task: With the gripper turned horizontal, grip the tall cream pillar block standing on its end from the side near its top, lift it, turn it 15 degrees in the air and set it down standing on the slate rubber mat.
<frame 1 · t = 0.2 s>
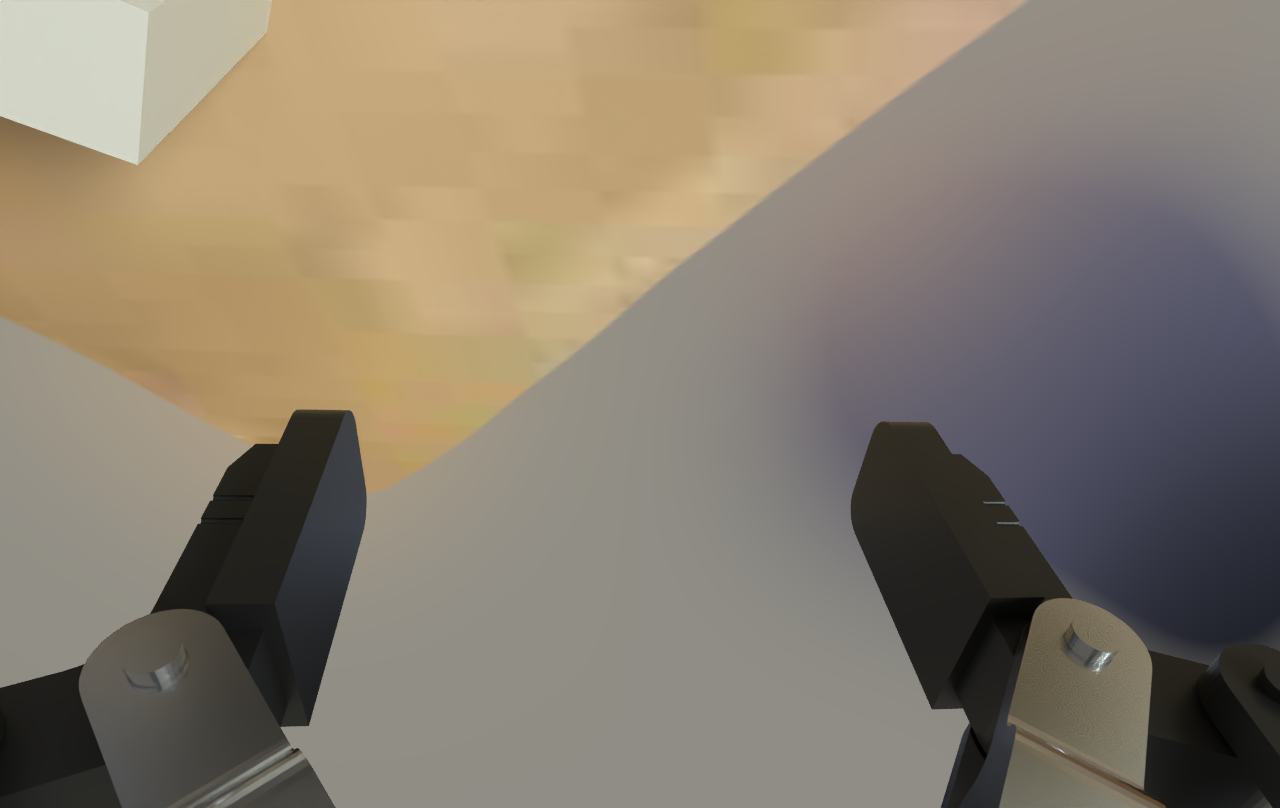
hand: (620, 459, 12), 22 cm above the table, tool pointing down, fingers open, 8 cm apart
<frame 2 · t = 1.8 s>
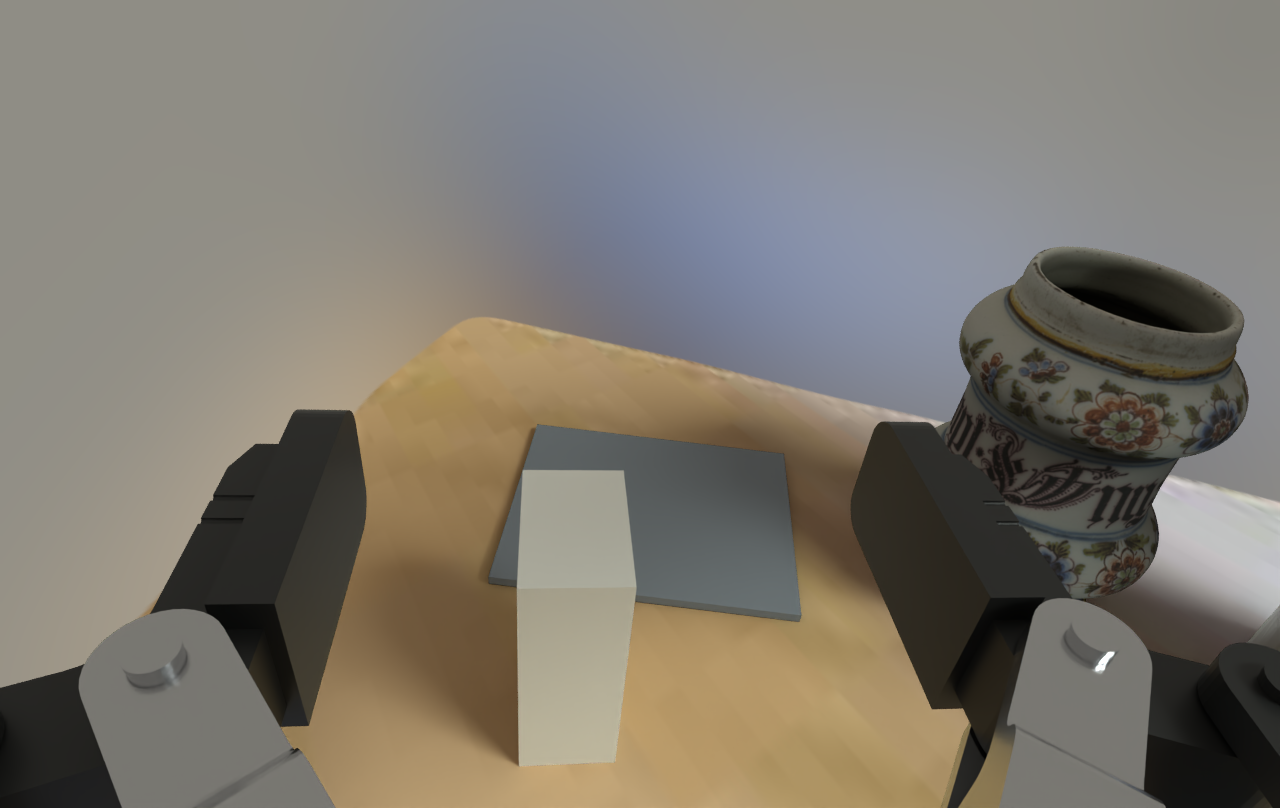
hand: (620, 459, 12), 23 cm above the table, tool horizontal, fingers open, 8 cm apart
apothecary jar: (986, 576, 43), on the table
tall cream pillar block: (566, 699, 35), on the table
mat: (652, 514, 45), on the table
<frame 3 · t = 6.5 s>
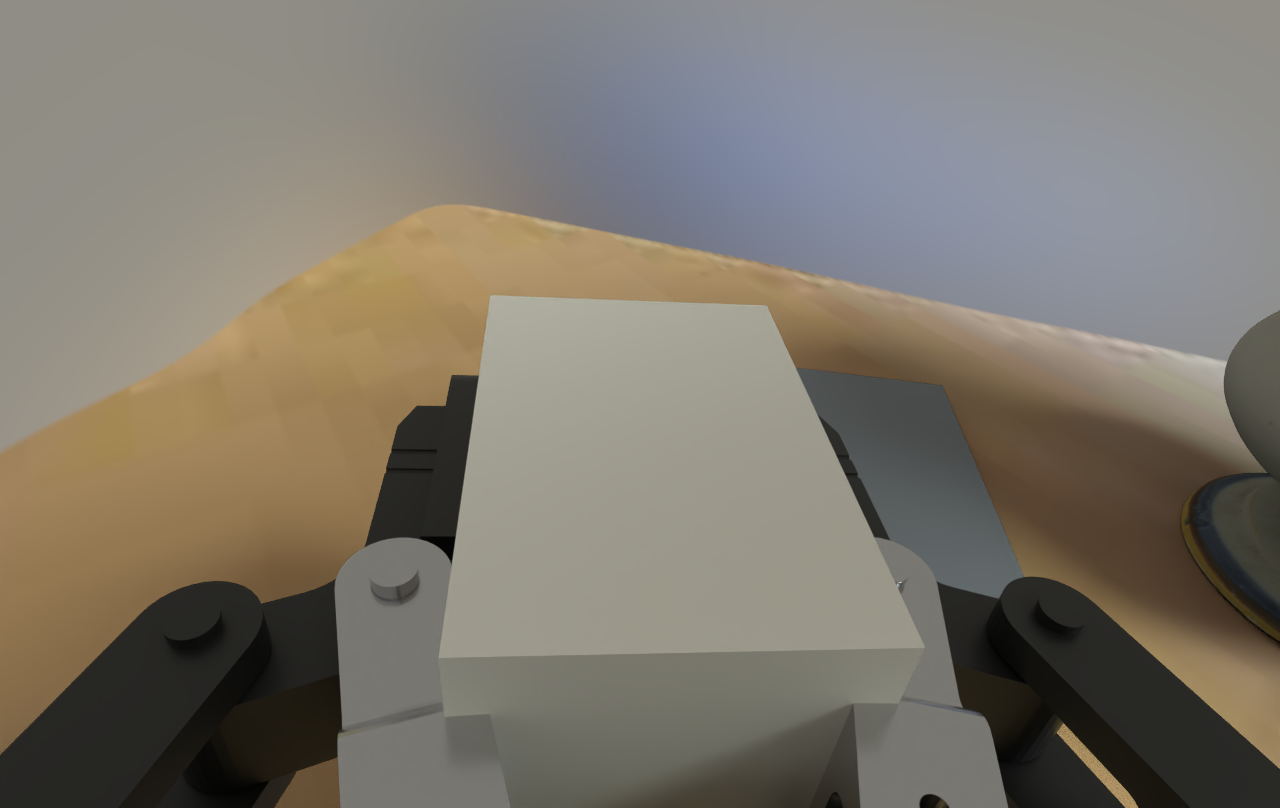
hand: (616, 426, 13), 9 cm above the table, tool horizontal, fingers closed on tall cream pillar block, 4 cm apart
mat: (739, 478, 25), on the table
when the fingers open (10 cm above the table, at t = 14.7 s): tall cream pillar block stays where it is, resting on mat.
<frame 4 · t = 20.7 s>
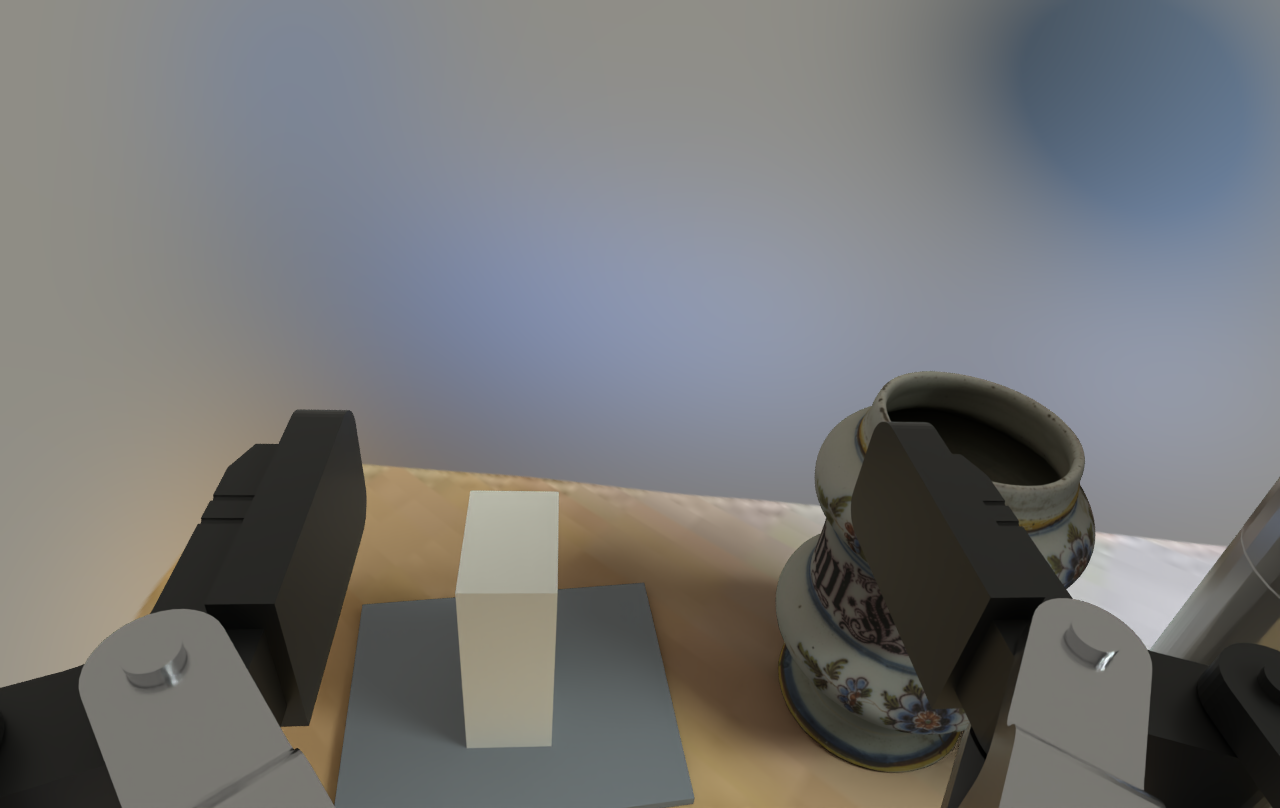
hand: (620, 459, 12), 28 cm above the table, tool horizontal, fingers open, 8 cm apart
apothecary jar: (865, 688, 42), on the table
tall cream pillar block: (512, 691, 39), resting on mat
mat: (513, 698, 40), on the table
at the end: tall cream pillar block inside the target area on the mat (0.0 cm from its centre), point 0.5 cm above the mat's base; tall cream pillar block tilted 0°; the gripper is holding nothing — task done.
